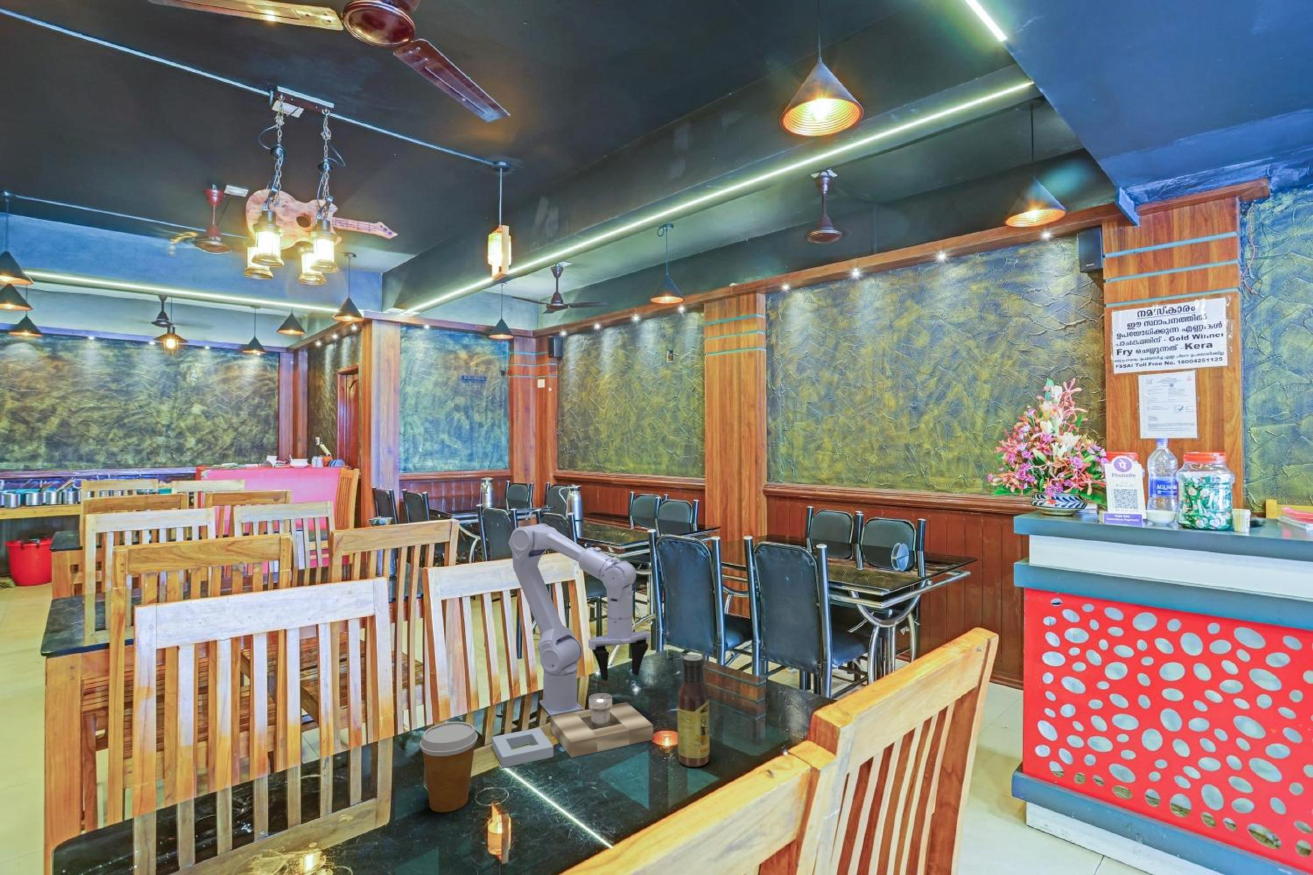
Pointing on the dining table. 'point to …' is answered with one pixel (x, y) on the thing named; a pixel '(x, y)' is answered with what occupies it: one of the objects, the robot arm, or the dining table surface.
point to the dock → (600, 730)
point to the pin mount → (522, 755)
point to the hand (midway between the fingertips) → (620, 676)
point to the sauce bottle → (693, 715)
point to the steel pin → (600, 710)
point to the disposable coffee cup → (448, 764)
